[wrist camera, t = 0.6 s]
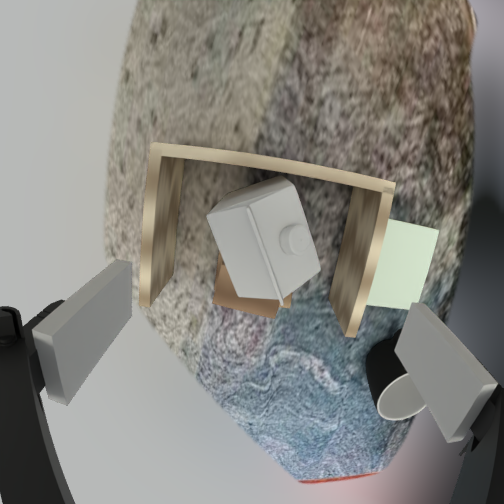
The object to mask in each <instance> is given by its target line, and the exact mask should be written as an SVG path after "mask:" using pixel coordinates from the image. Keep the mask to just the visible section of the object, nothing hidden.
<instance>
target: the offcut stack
mask: <svg viewBox="0 0 504 504" xmlns="http://www.w3.org/2000/svg"><path fill="white" fill-rule="evenodd" d="M214 290H215V293H214V297H213V302H212V303H213V304H216V305H220V306H224V307H228V308H232V309H236V310H240V311H244V312H248V313H252V314H256V315H260V316H264V317H269V318H273V319H275V316H276V313H277V310H278V307H284V308H290V305H291V298H292V293H290V294H289V295H288V296H286V297H285V298H284V299H283V303H284V305H283V306H281V304H280V301H279V300H278V299H261V298H246V297H238V295H237V293H236V290H235V288H234V285H233V283H232V280H231V278H230V275H229V273H228V271H227V268H226V266H225V263H224V261H223V258H222V255H221V253H220V250H219V255H218V263H217V271H216V279H215V287H214Z"/></svg>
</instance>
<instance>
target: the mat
mask: <svg viewBox="0 0 504 504" xmlns="http://www.w3.org/2000/svg"><path fill="white" fill-rule="evenodd" d="M438 233H439V230H437V229H434V228H429V227H425V226H421V225H416V224H412V223H408V222H403V221H399V220H394V219H390V218H389V219H388V223H387V228H386V232H385V236H384V240H383V244H382V248H381V252H380V256H379V260H378V264H377V268H376V271H375V275H374V279H373V282H372V286H371V289H370V292H369V296H368V299H367V303H366V305H373V306H381V307H390V308H399V309H408V310H409V309H410V306H411V303H412V302H415V303H418V301H419V298H420V295H421V292H422V289H423V286H424V283H425V279H426V276H427V273H428V270H429V266H430V263H431V259H432V256H433V252H434V248H435V245H436V241H437V237H438Z"/></svg>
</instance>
